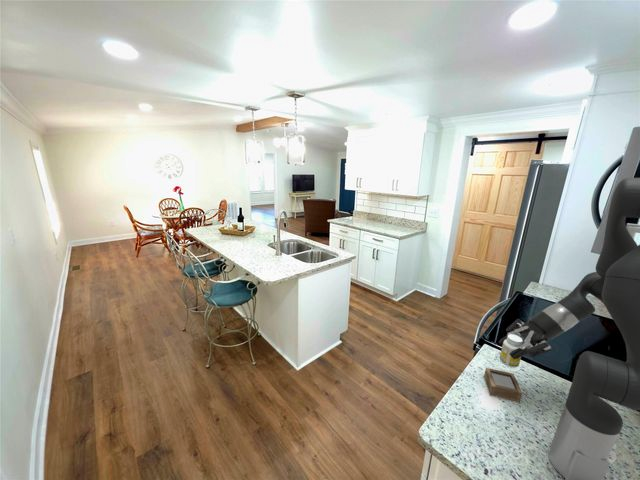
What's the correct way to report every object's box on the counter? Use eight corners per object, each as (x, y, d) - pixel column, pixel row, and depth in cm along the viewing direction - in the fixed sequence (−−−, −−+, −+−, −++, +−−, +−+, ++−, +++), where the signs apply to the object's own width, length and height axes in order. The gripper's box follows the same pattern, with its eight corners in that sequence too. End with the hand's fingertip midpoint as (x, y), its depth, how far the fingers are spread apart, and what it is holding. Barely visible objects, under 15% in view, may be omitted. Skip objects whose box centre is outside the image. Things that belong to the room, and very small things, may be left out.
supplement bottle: (496, 361, 87) (502, 336, 84) (502, 354, 90) (507, 330, 88) (516, 371, 83) (522, 345, 80) (521, 363, 86) (527, 338, 84)
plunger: (515, 391, 85) (515, 389, 85) (495, 386, 87) (495, 385, 87) (509, 378, 91) (510, 376, 90) (490, 373, 93) (490, 372, 92)
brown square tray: (519, 402, 85) (522, 393, 83) (489, 395, 87) (492, 385, 86) (511, 382, 92) (513, 373, 91) (483, 376, 95) (485, 367, 94)
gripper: (530, 301, 88) (487, 329, 92) (565, 326, 74) (512, 358, 78) (543, 315, 89) (500, 343, 93) (580, 343, 75) (527, 374, 79)
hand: (506, 350), depth 85 cm, fingers closed on supplement bottle, 5 cm apart
